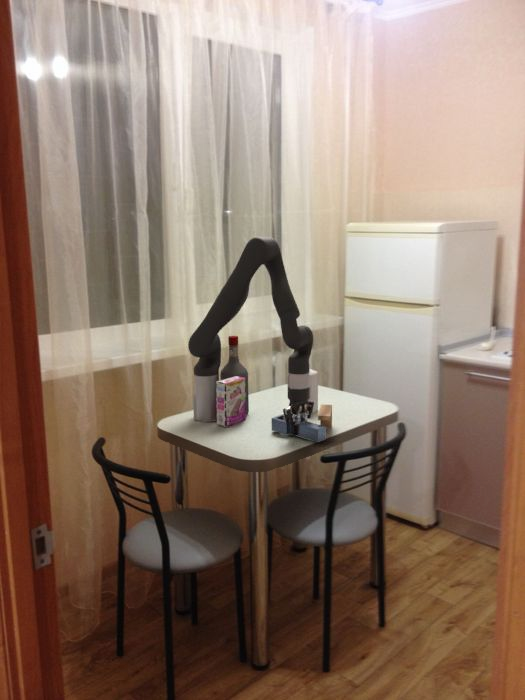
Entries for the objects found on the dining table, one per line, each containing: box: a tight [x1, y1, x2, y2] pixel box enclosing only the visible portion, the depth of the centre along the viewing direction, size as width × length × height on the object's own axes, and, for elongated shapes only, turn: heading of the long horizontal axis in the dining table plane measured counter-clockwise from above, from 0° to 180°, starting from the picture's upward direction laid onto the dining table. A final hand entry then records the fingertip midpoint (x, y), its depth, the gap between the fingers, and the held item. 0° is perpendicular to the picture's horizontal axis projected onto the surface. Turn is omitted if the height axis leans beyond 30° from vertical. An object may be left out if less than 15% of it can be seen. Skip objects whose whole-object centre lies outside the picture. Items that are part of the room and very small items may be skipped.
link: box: [271, 413, 327, 443], centre depth 219 cm, size 20×7×4 cm, turn 46°
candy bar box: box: [216, 376, 247, 428], centre depth 233 cm, size 11×5×16 cm, turn 141°
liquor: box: [219, 335, 250, 415], centre depth 242 cm, size 9×9×30 cm
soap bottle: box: [308, 363, 319, 414], centre depth 246 cm, size 10×9×22 cm
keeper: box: [317, 404, 333, 429], centre depth 222 cm, size 4×13×8 cm, turn 171°
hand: (298, 433), depth 219 cm, fingers closed on link, 4 cm apart
